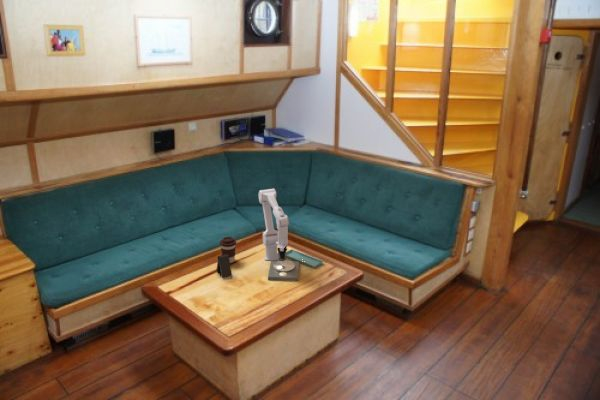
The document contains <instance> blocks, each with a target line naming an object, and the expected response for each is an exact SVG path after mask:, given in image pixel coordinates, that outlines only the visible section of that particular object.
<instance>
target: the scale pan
mask: <svg viewBox="0 0 600 400" xmlns="http://www.w3.org/2000/svg"><path fill="white" fill-rule="evenodd" d="M276 261H277V262H275V263H274V264H273V268H274V269H275V270H277V271H281V272H287V271H291V270H293V269H294V268H295V264H294V263H293V262H291V260H287V259H286V260H285V261H279V260H276Z"/></svg>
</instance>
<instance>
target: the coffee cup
mask: <svg viewBox="0 0 600 400" xmlns="http://www.w3.org/2000/svg"><path fill="white" fill-rule="evenodd" d="M236 244H237V240H236V239H235V238H234V237H232V236H225V237H223V238H221V240H220V241H219V245H220V250H221V255H225V254H227V255H229V261H230V264H232V263H234V262H235V260H236Z"/></svg>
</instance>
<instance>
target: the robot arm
mask: <svg viewBox="0 0 600 400" xmlns="http://www.w3.org/2000/svg"><path fill="white" fill-rule="evenodd" d="M258 202H259V204H261V205H262V211H263V216H264V225H265V231H263V233H262V243H263V245H264V246H265V256H264V260H265V261H278V252H279V254H280V258H281V259H284V258H285V253H286V252H287V251H288V248H287V247H288V245H289V239H288V237H289V236H288V233H289V232H288V229H289V227H288V226H290V218H289V216H288V215H287V214H285V213H284V212H285V211H284V210H283V208H282V207H281V206H279V203H278V201H277V190H276V189H275V188H274V187H273V188H268V189H260V190H259V191H258ZM273 216H274V219H275V223H276V229H277V230H276V229H275V227H274V226H275V225H274V222H273V221H274V219H273Z"/></svg>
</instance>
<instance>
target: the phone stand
mask: <svg viewBox="0 0 600 400" xmlns="http://www.w3.org/2000/svg"><path fill="white" fill-rule="evenodd" d="M216 273H217V274H218V275H219V276H220V277H221V278H227V277H230V276H231V277H232V276H233V274H232V268H231V263H230V261H229V255H227V254H225V255H222V254H221V255H218V256H217V263H216Z"/></svg>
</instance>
